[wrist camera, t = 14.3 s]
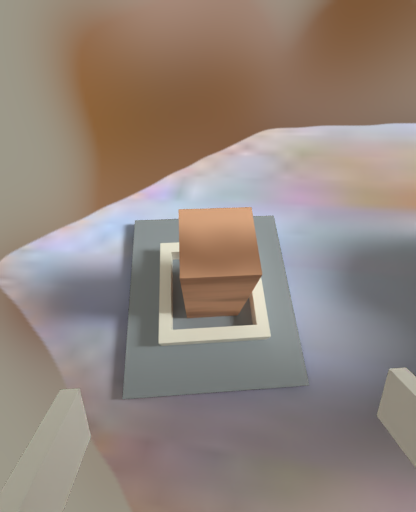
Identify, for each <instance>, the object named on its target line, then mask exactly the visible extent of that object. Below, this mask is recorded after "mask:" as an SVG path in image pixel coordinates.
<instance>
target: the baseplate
mask: <svg viewBox="0 0 416 512" xmlns="http://www.w3.org/2000/svg"><path fill="white" fill-rule="evenodd" d="M253 220H254V226H255V232H256V238H257V244H258V250H259V257H260V263H261V269H262V276H261V278H260V280H259V281H258V283H257V285H256V286H255V288H254V290H253V291H252V293H251V294H250V296H249V298H248V299H247V301H246V303H245V304H244V306H243V308H242V309H241V311H240V313H239V314H238V315H237V316H219V317H201V318H187V315H186V310H185V304H184V299H183V293H182V288H181V282H180V262H179V219H164V220H135V227H134V242H133V256H132V270H131V285H130V299H129V313H128V328H127V342H126V356H125V371H124V385H123V399H133V398H146V397H160V396H173V395H187V394H200V393H214V392H227V391H240V390H254V389H267V388H281V387H294V386H308V385H309V382H308V377H307V372H306V367H305V363H304V358H303V353H302V348H301V344H300V339H299V334H298V329H297V325H296V320H295V315H294V310H293V305H292V301H291V296H290V291H289V286H288V282H287V277H286V272H285V267H284V263H283V258H282V253H281V248H280V244H279V239H278V234H277V229H276V225H275V220H274V216H253Z"/></svg>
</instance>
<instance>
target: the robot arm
mask: <svg viewBox="0 0 416 512" xmlns="http://www.w3.org/2000/svg"><path fill="white" fill-rule="evenodd" d="M377 417H378V418H379V420H380V421H381V422H382V424H383V425H384V426H385V428H386V429H387V430H388V432H389V433H390V434H391V436H392V437H393V438H394V440H395V441H396V442H397V444H398V445H399V446H400V448H401V449H402V450H403V452H404V453H405V454H406V456H407V457H408V458H409V460H410V461H411V463H412V464H413V465H414V467H415V468H416V376H414V375H413V374H412V373H411V372H410V371H409V370H408V369H407V368H392V369H389V371H388V375H387V378H386V382H385V386H384V390H383V393H382V397H381V401H380V405H379V408H378V412H377ZM90 438H91V434H90V430H89V426H88V421H87V417H86V413H85V409H84V404H83V400H82V396H81V392H80V388H77V389H61V390H60V391H59V393H58V394H57V396H56V398H55V400H54V401H53V403H52V405H51V406H50V408H49V410H48V412H47V413H46V415H45V417H44V418H43V420H42V422H41V423H40V425H39V427H38V429H37V430H36V432H35V434H34V435H33V437H32V439H31V441H30V443H29V444H28V446H27V447H26V449H25V451H24V452H23V454H22V456H21V458H20V459H19V461H18V463H17V465H16V466H15V468H14V470H13V471H12V473H11V475H10V476H9V478H8V480H7V481H6V483H5V485H4V487H3V488H2V490H1V492H0V512H63V511H64V508H65V505H66V503H67V500H68V497H69V495H70V492H71V489H72V487H73V484H74V481H75V479H76V476H77V473H78V470H79V468H80V465H81V462H82V459H83V457H84V454H85V452H86V449H87V446H88V444H89V441H90Z"/></svg>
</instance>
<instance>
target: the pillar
mask: <svg viewBox="0 0 416 512" xmlns="http://www.w3.org/2000/svg"><path fill="white" fill-rule="evenodd" d="M179 262H180V282H181V288H182V293H183V299H184V304H185V310H186V315H187V318H201V317H219V316H237V315H238V314H239V313H240V311H241V309H242V308H243V306H244V304H245V303H246V301H247V299H248V298H249V296H250V294H251V293H252V291H253V290H254V288H255V286H256V285H257V283H258V281H259V280H260V278H261V276H262V269H261V263H260V257H259V250H258V244H257V238H256V232H255V226H254V220H253V214H252V208H251V207H243V208H211V209H180V210H179Z"/></svg>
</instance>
